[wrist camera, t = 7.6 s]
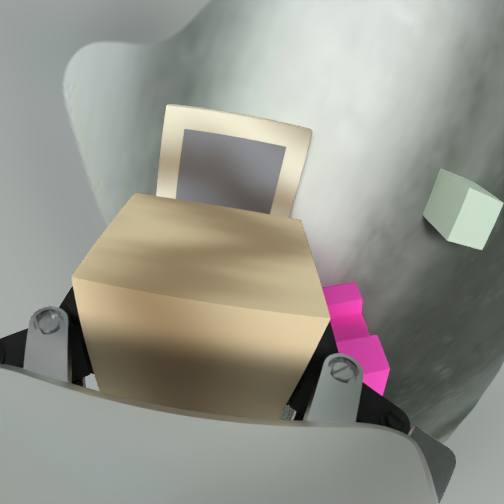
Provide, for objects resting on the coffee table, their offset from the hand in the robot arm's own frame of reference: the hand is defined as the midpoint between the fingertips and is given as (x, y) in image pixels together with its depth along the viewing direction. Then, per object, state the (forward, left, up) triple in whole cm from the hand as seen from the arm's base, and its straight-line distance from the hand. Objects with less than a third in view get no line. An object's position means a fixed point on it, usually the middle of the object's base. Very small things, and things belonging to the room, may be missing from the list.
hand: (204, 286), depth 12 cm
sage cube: (+3, -19, -13) cm, 23 cm away
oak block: (0, 0, -1) cm, 1 cm away
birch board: (0, 0, -13) cm, 13 cm away
